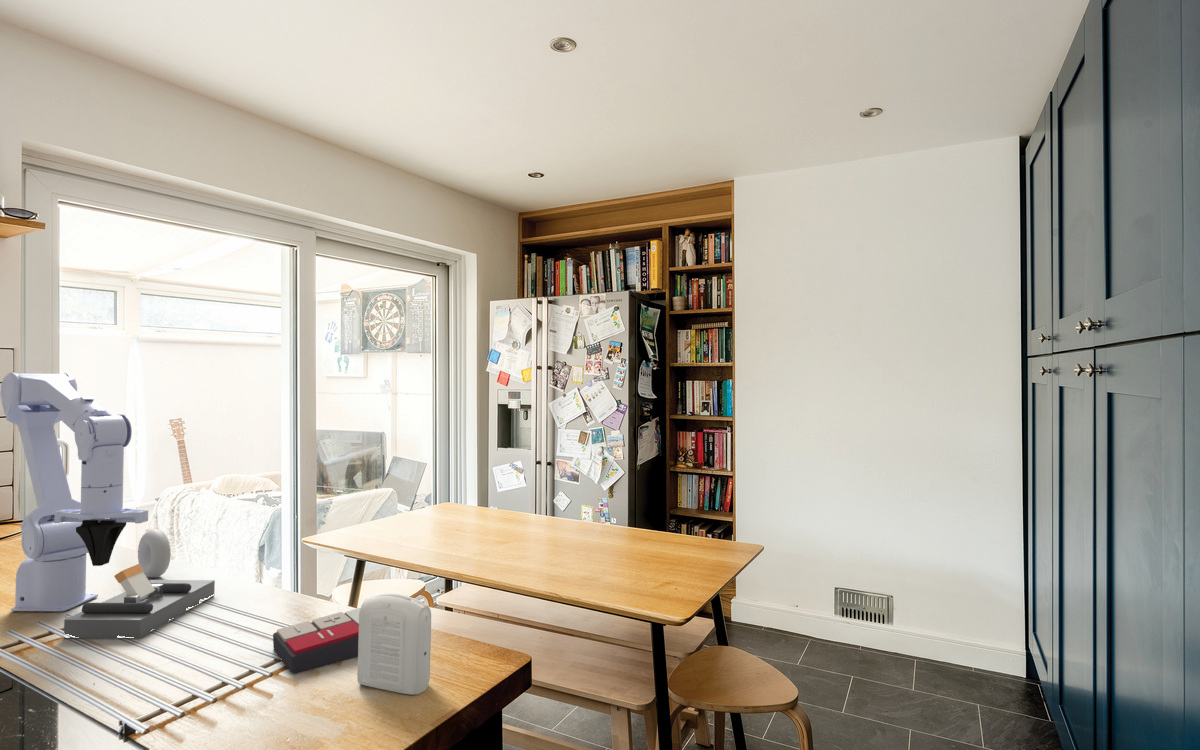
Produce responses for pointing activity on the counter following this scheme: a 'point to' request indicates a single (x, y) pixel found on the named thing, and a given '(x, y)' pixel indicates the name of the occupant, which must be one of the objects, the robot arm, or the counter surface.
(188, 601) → the box
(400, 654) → the photo printer
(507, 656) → the counter surface
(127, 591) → the lever
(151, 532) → the donut
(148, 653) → the counter surface
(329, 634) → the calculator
